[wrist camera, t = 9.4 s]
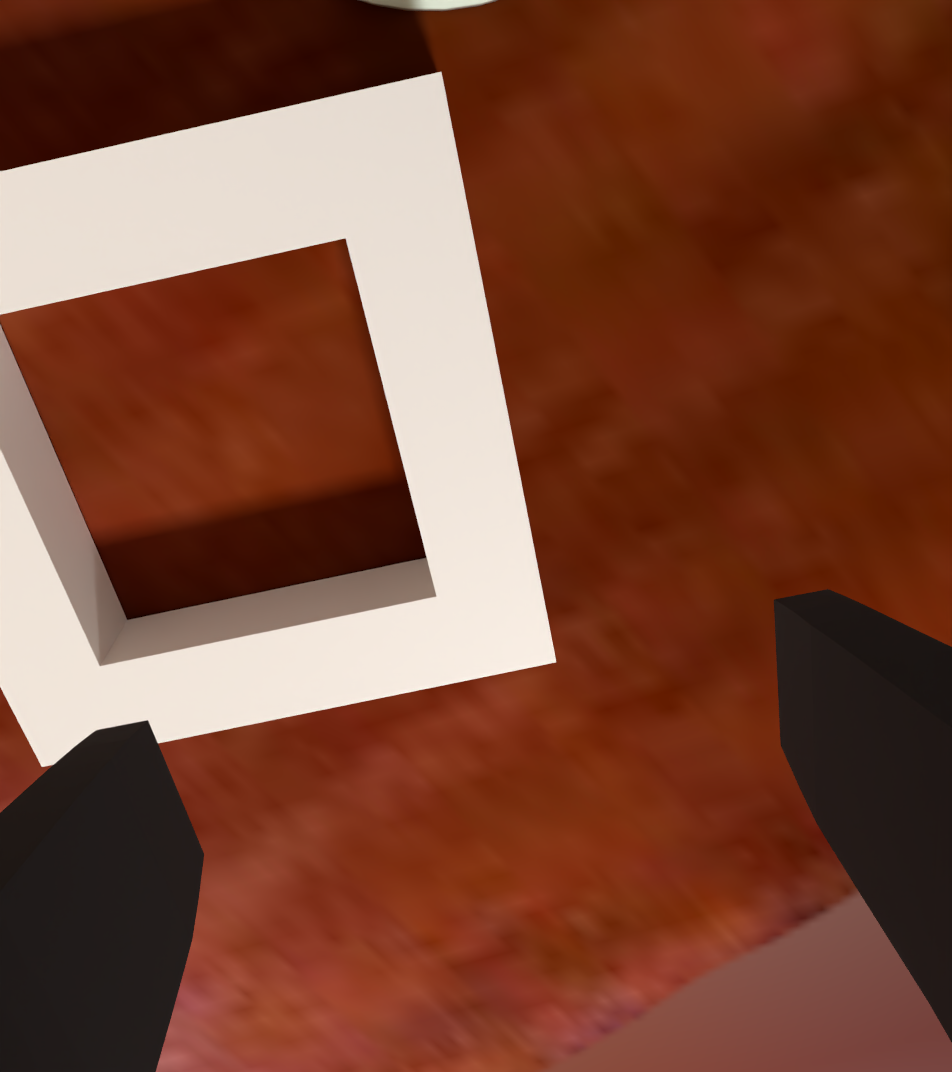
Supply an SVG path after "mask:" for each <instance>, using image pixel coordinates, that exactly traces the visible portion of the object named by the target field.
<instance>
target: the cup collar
mask: <svg viewBox="0 0 952 1072" xmlns="http://www.w3.org/2000/svg"><path fill="white" fill-rule="evenodd" d="M344 238H346V241H347V245H348V249H349V253H350V257H351V261H352V265H353V269H354V273H355V277H356V281H357V285H358V289H359V293H360V297H361V301H362V305H363V308H364V312H365V316H366V320H367V324H368V328H369V332H370V336H371V340H372V344H373V348H374V352H375V356H376V360H377V364H378V368H379V372H380V375H381V379H382V383H383V387H384V391H385V395H386V399H387V403H388V407H389V411H390V415H391V419H392V423H393V427H394V431H395V435H396V439H397V442H398V446H399V450H400V454H401V458H402V462H403V466H404V470H405V474H406V478H407V482H408V486H409V490H410V494H411V498H412V502H413V506H414V510H415V513H416V517H417V521H418V525H419V529H420V533H421V537H422V541H423V545H424V549H425V553H426V557H427V558H423V559H418V560H413V561H408V562H403V563H399V564H394V565H389V566H384V567H379V568H375V569H370V570H365V571H360V572H355V573H351V574H346V575H341V576H336V577H331V578H327V579H322V580H317V581H312V582H307V583H303V584H298V585H293V586H288V587H283V588H279V589H274V590H269V591H264V592H259V593H255V594H250V595H245V596H240V597H235V598H231V599H226V600H221V601H216V602H211V603H207V604H202V605H197V606H192V607H187V608H183V609H178V610H173V611H168V612H163V613H159V614H154V615H149V616H144V617H139V618H135V619H130V620H127V618H126V616H125V614H124V611H123V609H122V607H121V604H120V602H119V600H118V597H117V595H116V593H115V590H114V588H113V586H112V583H111V581H110V579H109V576H108V574H107V572H106V569H105V567H104V565H103V562H102V560H101V558H100V555H99V553H98V551H97V548H96V546H95V544H94V541H93V539H92V537H91V534H90V532H89V530H88V528H87V525H86V523H85V521H84V518H83V516H82V514H81V511H80V509H79V507H78V504H77V502H76V500H75V497H74V495H73V493H72V490H71V488H70V486H69V483H68V481H67V479H66V476H65V474H64V472H63V469H62V467H61V465H60V462H59V460H58V458H57V455H56V453H55V451H54V448H53V446H52V444H51V441H50V439H49V437H48V434H47V432H46V430H45V427H44V425H43V423H42V420H41V418H40V416H39V414H38V411H37V409H36V407H35V404H34V402H33V400H32V397H31V395H30V393H29V390H28V388H27V386H26V383H25V381H24V379H23V376H22V374H21V372H20V369H19V367H18V365H17V362H16V360H15V358H14V355H13V353H12V351H11V348H10V346H9V344H8V341H7V339H6V337H5V334H4V332H3V330H2V327H1V325H0V687H1V689H2V691H3V693H4V695H5V697H6V699H7V701H8V703H9V704H10V706H11V708H12V710H13V712H14V714H15V716H16V718H17V720H18V722H19V724H20V726H21V728H22V729H23V731H24V733H25V735H26V737H27V739H28V741H29V743H30V745H31V747H32V749H33V751H34V753H35V754H36V756H37V758H38V760H39V762H40V764H41V766H42V767H44V766H49V765H54V764H55V763H56V762H57V761H58V760H60V759H61V758H62V757H63V756H64V755H65V754H67V753H68V752H69V751H70V750H71V749H72V748H74V747H75V746H76V745H77V744H79V743H80V742H81V741H82V740H84V739H85V738H86V737H88V736H89V735H90V734H92V733H93V732H94V731H96V730H99V729H104V728H110V727H115V726H120V725H125V724H130V723H136V722H141V721H146V720H148V721H149V724H150V726H151V728H152V731H153V733H154V736H155V738H156V740H157V743H162V742H167V741H171V740H176V739H181V738H186V737H191V736H196V735H201V734H206V733H211V732H216V731H221V730H226V729H230V728H235V727H240V726H245V725H250V724H255V723H260V722H265V721H270V720H275V719H280V718H284V717H289V716H294V715H299V714H304V713H309V712H314V711H319V710H324V709H329V708H334V707H339V706H343V705H348V704H353V703H358V702H363V701H368V700H373V699H378V698H383V697H388V696H393V695H398V694H402V693H407V692H412V691H417V690H422V689H427V688H432V687H437V686H442V685H447V684H452V683H456V682H461V681H466V680H471V679H476V678H481V677H486V676H491V675H496V674H501V673H506V672H511V671H515V670H520V669H525V668H530V667H535V666H540V665H545V664H550V663H555V662H556V658H555V653H554V648H553V643H552V638H551V633H550V628H549V622H548V617H547V612H546V607H545V602H544V597H543V592H542V587H541V581H540V576H539V571H538V566H537V561H536V556H535V551H534V545H533V540H532V535H531V530H530V525H529V520H528V515H527V510H526V504H525V499H524V494H523V489H522V484H521V479H520V474H519V468H518V463H517V458H516V453H515V448H514V443H513V438H512V432H511V427H510V422H509V417H508V412H507V407H506V402H505V397H504V391H503V386H502V381H501V376H500V371H499V366H498V361H497V355H496V350H495V345H494V340H493V335H492V330H491V325H490V319H489V314H488V309H487V304H486V299H485V294H484V289H483V284H482V278H481V273H480V268H479V263H478V258H477V253H476V248H475V242H474V237H473V232H472V227H471V222H470V217H469V212H468V206H467V201H466V196H465V191H464V186H463V181H462V176H461V171H460V165H459V160H458V155H457V150H456V145H455V140H454V135H453V129H452V124H451V119H450V114H449V109H448V104H447V99H446V94H445V88H444V83H443V78H442V73H441V72H438V73H433V74H429V75H424V76H420V77H416V78H411V79H407V80H402V81H398V82H393V83H389V84H385V85H380V86H376V87H371V88H367V89H363V90H358V91H354V92H349V93H345V94H340V95H336V96H332V97H327V98H323V99H318V100H314V101H310V102H305V103H301V104H296V105H292V106H287V107H283V108H279V109H274V110H270V111H265V112H261V113H257V114H252V115H248V116H243V117H239V118H234V119H230V120H226V121H221V122H217V123H212V124H208V125H204V126H199V127H195V128H190V129H186V130H181V131H177V132H173V133H168V134H164V135H159V136H155V137H151V138H146V139H142V140H137V141H133V142H128V143H124V144H120V145H115V146H111V147H106V148H102V149H97V150H93V151H89V152H84V153H80V154H75V155H71V156H67V157H62V158H58V159H53V160H49V161H44V162H40V163H36V164H31V165H27V166H22V167H18V168H14V169H9V170H5V171H0V314H4V313H9V312H14V311H18V310H23V309H27V308H32V307H36V306H41V305H45V304H50V303H54V302H59V301H63V300H68V299H72V298H77V297H81V296H86V295H90V294H95V293H100V292H104V291H109V290H113V289H118V288H122V287H127V286H131V285H136V284H140V283H145V282H149V281H154V280H158V279H163V278H167V277H172V276H176V275H181V274H185V273H190V272H195V271H199V270H204V269H208V268H213V267H217V266H222V265H226V264H231V263H235V262H240V261H244V260H249V259H253V258H258V257H262V256H267V255H271V254H276V253H281V252H285V251H290V250H294V249H299V248H303V247H308V246H312V245H317V244H321V243H326V242H330V241H335V240H339V239H344Z"/></svg>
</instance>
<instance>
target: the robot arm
mask: <svg viewBox="0 0 952 1072" xmlns="http://www.w3.org/2000/svg"><path fill="white" fill-rule="evenodd" d="M774 612H775V634H776V655H777V676H778V697H779V718H780V739H781V747H782V749H783V751H784V753H785V756H786V758H787V760H788V762H789V765H790V767H791V769H792V771H793V774H794V776H795V778H796V780H797V783H798V785H799V787H800V789H801V791H802V793H803V795H804V798H805V800H806V802H807V804H808V806H809V808H810V810H811V812H812V814H813V817H814V819H815V821H816V823H817V824H818V826H819V828H820V829H821V831H822V833H823V834H824V836H825V838H826V839H827V841H828V843H829V844H830V846H831V847H832V849H833V851H834V852H835V854H836V855H837V857H838V859H839V860H840V862H841V864H842V865H843V867H844V868H845V870H846V872H847V873H848V875H849V876H850V878H851V880H852V881H853V883H854V884H855V886H856V888H857V889H858V891H859V892H860V894H861V896H862V897H863V899H864V900H865V902H866V904H867V905H868V907H869V908H870V910H871V911H872V913H873V915H874V916H875V918H876V919H877V921H878V922H879V924H880V926H881V927H882V929H883V931H884V932H885V933H886V935H887V937H888V938H889V940H890V942H891V943H892V945H893V946H894V948H895V950H896V951H897V953H898V954H899V956H900V958H901V959H902V961H903V962H904V964H905V966H906V967H907V969H908V970H909V972H910V973H911V975H912V976H913V978H914V980H915V981H916V983H917V985H918V986H919V988H920V989H921V991H922V992H923V994H924V996H925V997H926V999H927V1000H928V1002H929V1004H930V1005H931V1007H932V1009H933V1010H934V1012H935V1014H936V1016H937V1018H938V1019H939V1021H940V1023H941V1024H942V1026H943V1028H944V1030H945V1031H946V1033H947V1035H948V1037H949V1038H950V1040H951V1042H952V647H950V646H948V645H946V644H944V643H942V642H940V641H938V640H936V639H934V638H932V637H929V636H927V635H925V634H923V633H921V632H919V631H917V630H915V629H913V628H911V627H909V626H907V625H905V624H903V623H900V622H898V621H896V620H894V619H892V618H890V617H888V616H886V615H884V614H882V613H880V612H878V611H876V610H873V609H871V608H869V607H867V606H865V605H863V604H861V603H859V602H856V601H854V600H852V599H850V598H848V597H845V596H843V595H841V594H838V593H836V592H833V591H831V590H828V589H827V590H822V591H817V592H812V593H806V594H801V595H796V596H791V597H786V598H780V599H775V600H774ZM203 858H204V853H203V851H202V848H201V846H200V843H199V841H198V839H197V836H196V834H195V831H194V829H193V827H192V824H191V822H190V819H189V817H188V815H187V812H186V810H185V807H184V805H183V803H182V800H181V798H180V795H179V793H178V791H177V788H176V786H175V783H174V781H173V779H172V776H171V774H170V772H169V769H168V767H167V764H166V762H165V760H164V757H163V755H162V752H161V750H160V748H159V745H158V743H157V740H156V738H155V736H154V733H153V731H152V728H151V726H150V724H149V721H148V720H146V721H141V722H136V723H130V724H125V725H120V726H115V727H110V728H104V729H99V730H96V731H94V732H93V733H92V734H90V735H89V736H88V737H86V738H85V739H84V740H82V741H81V742H80V743H79V744H77V745H76V746H75V747H74V748H72V749H71V750H70V751H69V752H68V753H67V754H65V755H64V756H63V757H62V758H61V759H60V760H58V761H57V762H56V763H55V764H54V765H53V766H52V767H51V768H49V769H48V770H47V771H46V772H45V773H44V774H43V775H42V776H41V777H39V778H38V779H37V780H36V781H35V782H34V783H33V784H32V785H31V786H29V787H28V788H27V789H26V790H25V791H24V792H23V793H22V794H21V795H20V796H18V797H17V798H16V799H15V800H14V801H13V802H12V803H11V804H10V805H9V806H7V807H6V808H5V809H4V810H3V811H2V812H1V813H0V1072H156V1068H157V1065H158V1061H159V1058H160V1054H161V1051H162V1047H163V1044H164V1040H165V1037H166V1033H167V1030H168V1026H169V1023H170V1019H171V1016H172V1012H173V1008H174V1005H175V1001H176V998H177V994H178V990H179V987H180V983H181V979H182V976H183V972H184V968H185V965H186V961H187V957H188V953H189V949H190V946H191V942H192V937H193V931H194V925H195V918H196V912H197V905H198V899H199V891H200V883H201V875H202V867H203Z"/></svg>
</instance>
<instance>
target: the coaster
mask: <svg viewBox="0 0 952 1072" xmlns="http://www.w3.org/2000/svg"><path fill="white" fill-rule="evenodd" d="M358 1H361V2H364V3H367V4H371V5H374V6H381V7H387V8H394V9H401V10H407V11H448V10H455V9H461V8H468V7H475V6H481V5H484V4H487V3H491V2H494V1H497V0H358Z"/></svg>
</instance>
